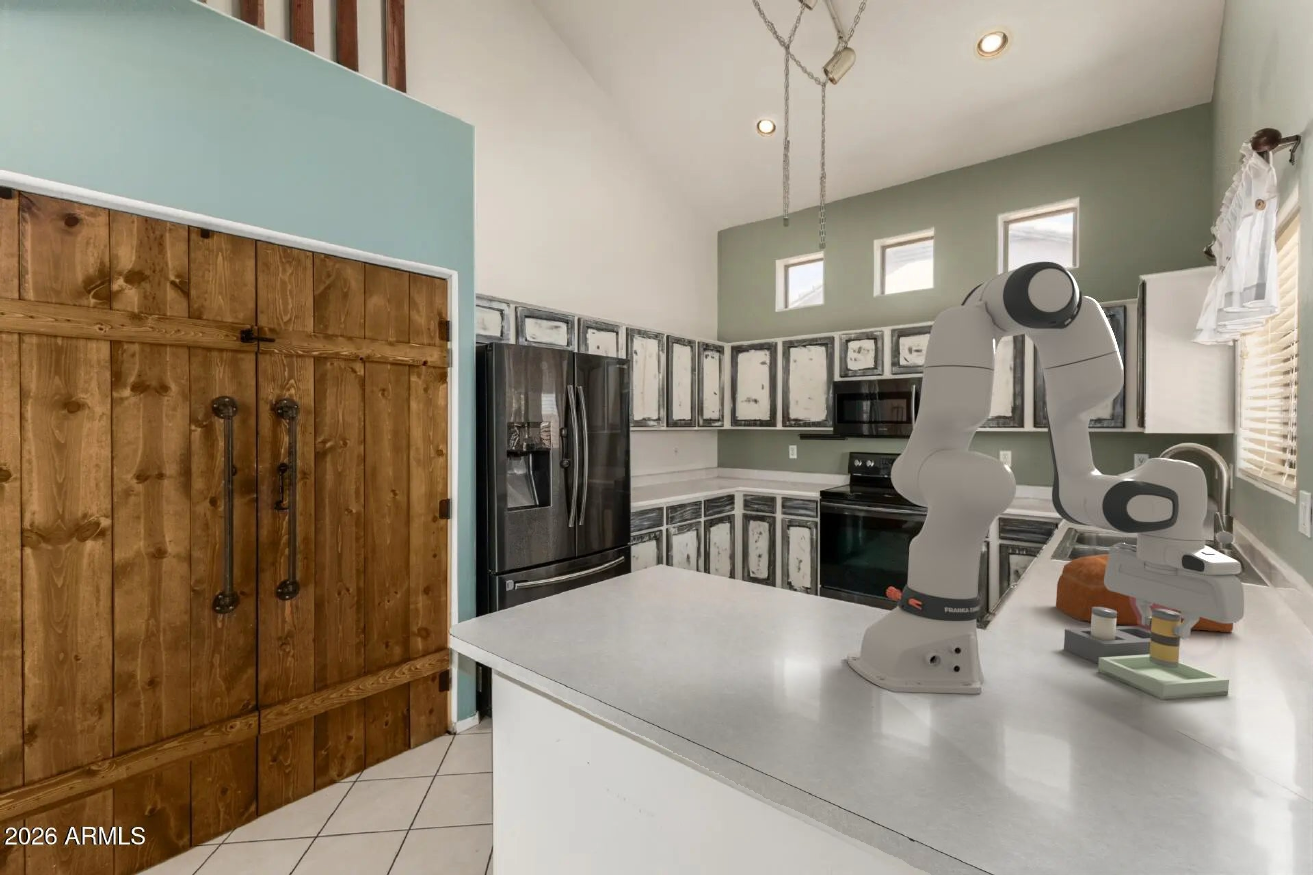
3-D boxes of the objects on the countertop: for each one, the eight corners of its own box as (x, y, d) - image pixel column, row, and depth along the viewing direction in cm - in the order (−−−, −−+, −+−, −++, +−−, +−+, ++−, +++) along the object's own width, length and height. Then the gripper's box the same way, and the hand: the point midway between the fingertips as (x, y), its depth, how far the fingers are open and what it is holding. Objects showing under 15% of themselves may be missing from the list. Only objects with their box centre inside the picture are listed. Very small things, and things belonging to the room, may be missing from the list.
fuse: (1102, 660, 111) (1106, 613, 111) (1084, 652, 115) (1087, 606, 114) (1118, 659, 112) (1122, 612, 111) (1099, 651, 115) (1102, 606, 115)
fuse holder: (1102, 665, 108) (1104, 644, 108) (1063, 648, 116) (1064, 628, 116) (1177, 660, 112) (1179, 639, 112) (1135, 644, 120) (1136, 625, 120)
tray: (1163, 699, 95) (1164, 684, 95) (1098, 671, 106) (1098, 657, 105) (1228, 694, 98) (1229, 679, 98) (1158, 666, 109) (1159, 653, 109)
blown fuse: (1167, 668, 99) (1169, 616, 99) (1143, 659, 103) (1146, 608, 103) (1184, 667, 100) (1187, 615, 100) (1160, 658, 104) (1163, 608, 104)
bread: (1048, 605, 147) (1052, 543, 146) (1192, 615, 143) (1196, 552, 143) (1081, 623, 133) (1086, 555, 133) (1241, 635, 129) (1246, 566, 129)
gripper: (1097, 540, 111) (1093, 612, 111) (1223, 567, 91) (1218, 655, 91) (1123, 539, 112) (1119, 611, 112) (1253, 566, 92) (1248, 653, 92)
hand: (1165, 631), depth 102 cm, fingers closed on blown fuse, 4 cm apart
